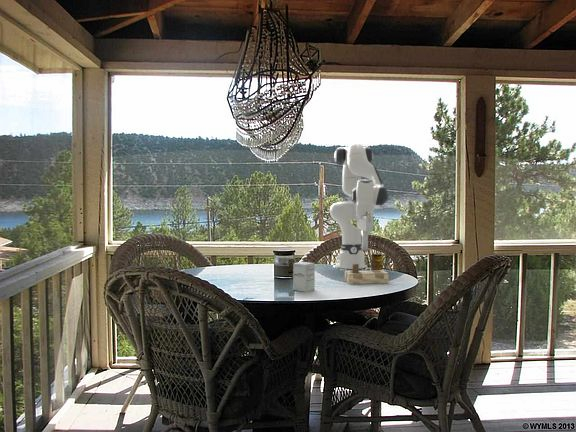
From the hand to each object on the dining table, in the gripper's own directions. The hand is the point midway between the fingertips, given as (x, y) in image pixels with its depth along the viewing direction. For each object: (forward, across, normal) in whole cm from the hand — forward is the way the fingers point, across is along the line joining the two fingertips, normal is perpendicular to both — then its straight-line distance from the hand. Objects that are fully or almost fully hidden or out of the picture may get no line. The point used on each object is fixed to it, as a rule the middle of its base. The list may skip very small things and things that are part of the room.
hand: (364, 239), depth 273 cm
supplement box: (+22, -20, +33) cm, 44 cm away
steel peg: (+6, 0, 0) cm, 6 cm away
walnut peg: (+21, -1, +5) cm, 22 cm away
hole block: (+21, -1, 0) cm, 21 cm away
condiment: (+22, +15, -9) cm, 28 cm away
